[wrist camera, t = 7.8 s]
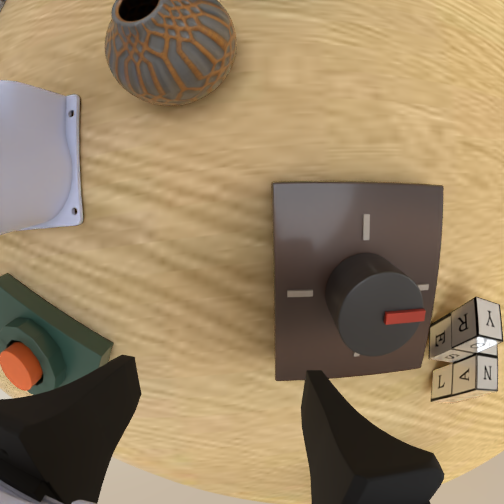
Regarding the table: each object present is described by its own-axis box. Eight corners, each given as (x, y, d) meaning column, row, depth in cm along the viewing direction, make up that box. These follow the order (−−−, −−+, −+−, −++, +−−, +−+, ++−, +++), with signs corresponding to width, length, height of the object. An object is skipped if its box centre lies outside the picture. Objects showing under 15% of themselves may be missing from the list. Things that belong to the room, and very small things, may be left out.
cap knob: (323, 327, 18) (335, 364, 14) (326, 253, 17) (342, 275, 13) (393, 323, 17) (418, 355, 14) (401, 251, 16) (432, 271, 13)
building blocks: (454, 345, 23) (519, 311, 16) (452, 403, 20) (524, 382, 13) (410, 335, 23) (476, 296, 16) (405, 399, 20) (479, 379, 13)
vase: (156, 18, 17) (102, -47, 8) (253, 30, 17) (243, -51, 8) (125, 107, 18) (46, 75, 10) (224, 124, 18) (191, 85, 10)
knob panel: (271, 181, 19) (271, 182, 16) (421, 183, 18) (445, 185, 15) (274, 357, 22) (275, 382, 19) (406, 347, 21) (421, 369, 18)
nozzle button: (11, 364, 20) (-1, 373, 18) (11, 333, 19) (-2, 342, 17) (42, 387, 20) (31, 398, 18) (44, 357, 19) (31, 368, 17)
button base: (3, 339, 23) (-21, 356, 20) (7, 272, 22) (-22, 286, 18) (97, 404, 24) (78, 431, 20) (113, 342, 22) (90, 369, 18)
